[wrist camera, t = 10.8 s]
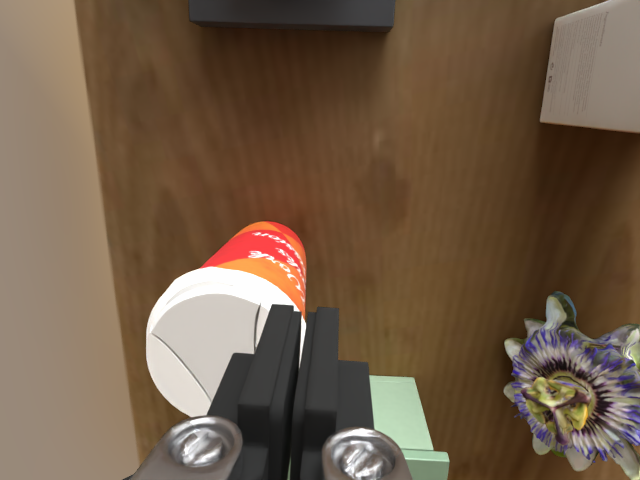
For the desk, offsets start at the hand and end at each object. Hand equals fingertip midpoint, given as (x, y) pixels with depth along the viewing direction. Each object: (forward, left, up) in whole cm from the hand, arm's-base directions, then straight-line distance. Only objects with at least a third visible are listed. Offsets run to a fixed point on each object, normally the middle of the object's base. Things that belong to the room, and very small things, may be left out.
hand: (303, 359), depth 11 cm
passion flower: (+19, -12, -22) cm, 31 cm away
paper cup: (-4, -5, -22) cm, 23 cm away
